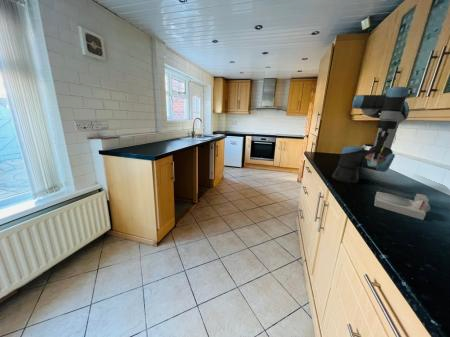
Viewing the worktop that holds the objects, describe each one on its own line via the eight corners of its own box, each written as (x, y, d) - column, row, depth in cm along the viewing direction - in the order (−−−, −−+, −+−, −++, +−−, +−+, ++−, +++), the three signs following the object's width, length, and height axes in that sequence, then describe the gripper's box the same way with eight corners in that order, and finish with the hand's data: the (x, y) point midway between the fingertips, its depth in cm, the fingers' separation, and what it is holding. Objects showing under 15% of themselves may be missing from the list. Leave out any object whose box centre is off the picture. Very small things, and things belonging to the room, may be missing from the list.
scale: (375, 196, 102) (379, 182, 99) (421, 208, 91) (428, 193, 88) (374, 205, 90) (379, 190, 87) (427, 221, 79) (435, 204, 76)
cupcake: (385, 168, 97) (392, 145, 94) (380, 169, 92) (388, 146, 89) (366, 163, 104) (372, 142, 101) (360, 165, 99) (367, 143, 96)
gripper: (379, 120, 102) (367, 160, 108) (377, 118, 86) (362, 165, 93) (397, 122, 97) (383, 163, 103) (398, 120, 82) (381, 168, 88)
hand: (373, 164), depth 98 cm, fingers closed on cupcake, 8 cm apart
